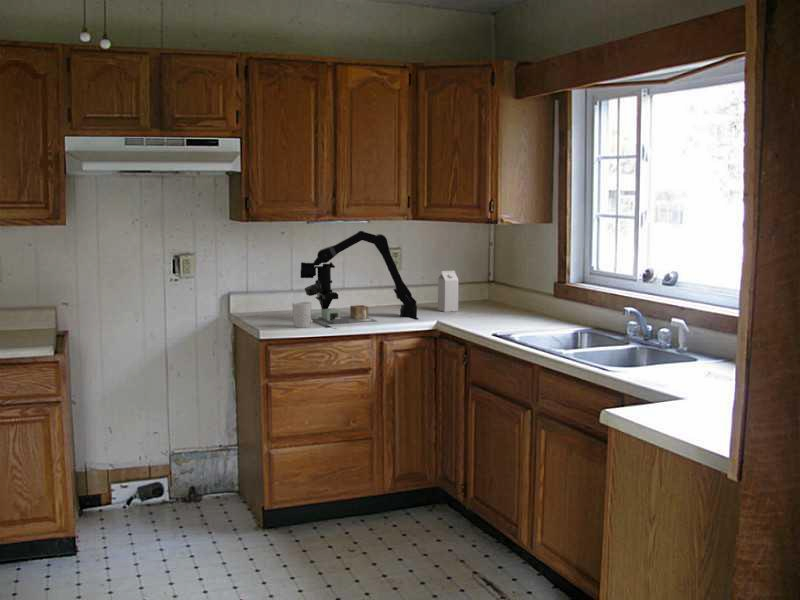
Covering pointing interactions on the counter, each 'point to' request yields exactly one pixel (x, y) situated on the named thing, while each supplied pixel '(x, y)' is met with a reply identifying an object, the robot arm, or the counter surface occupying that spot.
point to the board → (342, 320)
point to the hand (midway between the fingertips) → (324, 313)
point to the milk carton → (448, 291)
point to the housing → (331, 313)
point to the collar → (358, 311)
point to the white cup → (301, 314)
